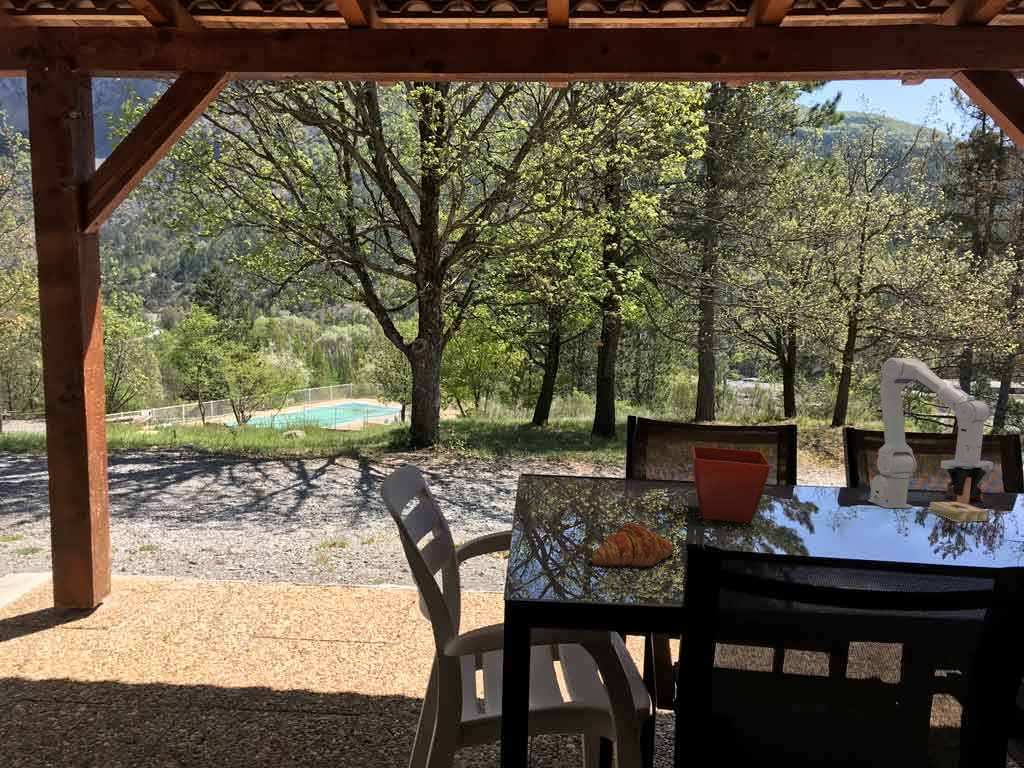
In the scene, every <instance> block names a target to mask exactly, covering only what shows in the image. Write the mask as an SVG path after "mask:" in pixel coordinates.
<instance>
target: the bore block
mask: <svg viewBox="0 0 1024 768" xmlns="http://www.w3.org/2000/svg"><path fill="white" fill-rule="evenodd" d="M928 512H929V513H930V512H931V513H930V514H933V513H934V515H936V514H937V515H936V516H938V515H940V516H939V517H941V516H943V517H942V518H944V517H945V518H944V519H946V518H948V519H947V520H949V519H950V521H952V522H954V521H955V523H973V522H972V521H987V519H988V514H989V513H988V510H985V509H982V508H979V507H976V506H974V505H970V504H969V503H968V504H965V503H959V502H957V501H930V502H929V511H928Z"/></svg>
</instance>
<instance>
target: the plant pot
mask: <svg viewBox="0 0 1024 768" xmlns="http://www.w3.org/2000/svg"><path fill="white" fill-rule="evenodd" d="M691 456H692V469H693V478H694V485H695V491H696V498H697V504H698V509H699V513H700V517H701V518H702V519H705V520H715V521H722V522H723V521H724V522H734V523H742V522H745V524H751V523H752V521H753V519H754V516H755V515H756V512H757V510H758V507H759V505H760V503H761V501H762V497H763V494H764V491H765V488H766V484H767V481H768V478H769V474H770V469H771V463H770V462H769V461H768V459H767V458H766V457H765V455H764V453H763V452H761V451H759V450H758V451H757V450H746V449H737V448H736V449H732V448H723V447H722V448H721V447H712V446H711V447H708V446H699V445H697V446H696V445H694V446H692V447H691ZM750 522H751V523H750Z"/></svg>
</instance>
